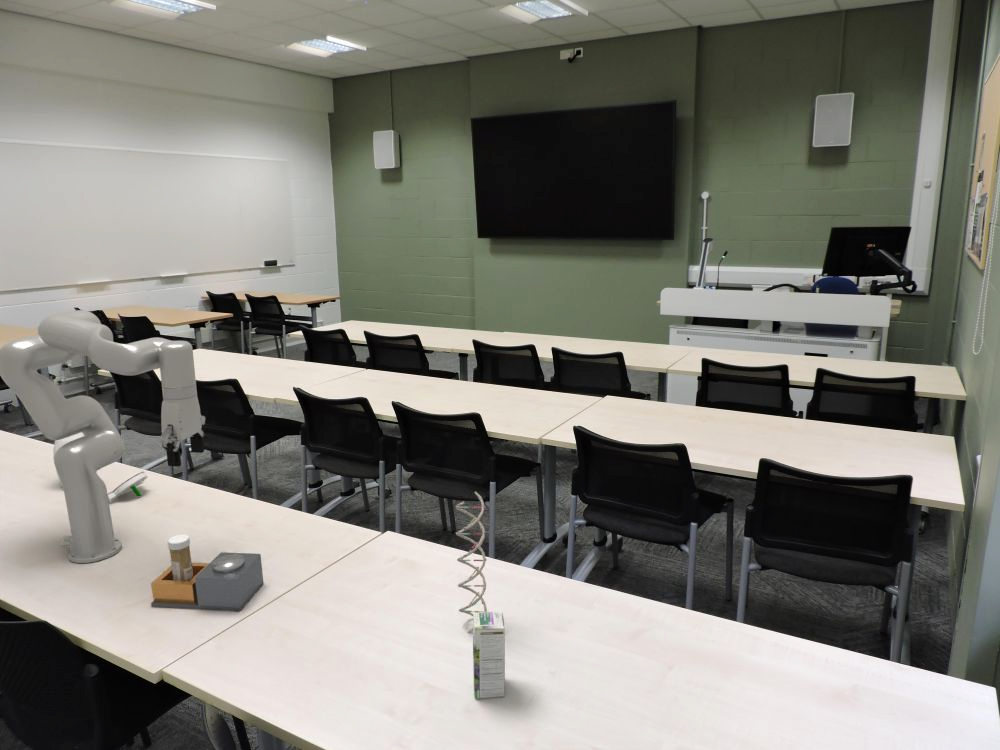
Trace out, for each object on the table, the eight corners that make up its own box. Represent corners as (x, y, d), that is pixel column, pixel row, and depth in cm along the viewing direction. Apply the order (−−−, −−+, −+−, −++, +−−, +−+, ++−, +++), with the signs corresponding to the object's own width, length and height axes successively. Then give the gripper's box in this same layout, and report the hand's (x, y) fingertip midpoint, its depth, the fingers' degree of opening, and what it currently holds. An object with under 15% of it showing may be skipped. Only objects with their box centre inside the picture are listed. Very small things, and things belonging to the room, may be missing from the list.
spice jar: (197, 591, 165) (190, 539, 162) (176, 597, 162) (169, 544, 159) (193, 583, 168) (187, 532, 165) (172, 588, 166) (166, 537, 163)
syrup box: (473, 679, 134) (471, 611, 130) (503, 677, 134) (502, 610, 131) (474, 699, 128) (472, 629, 125) (506, 697, 129) (505, 627, 125)
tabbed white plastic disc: (134, 484, 232) (145, 458, 229) (153, 497, 232) (164, 471, 228) (98, 502, 218) (109, 474, 214) (118, 516, 217) (130, 489, 214)
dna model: (481, 636, 147) (478, 504, 140) (453, 631, 149) (449, 500, 142) (492, 619, 153) (490, 492, 146) (465, 614, 155) (462, 488, 148)
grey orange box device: (151, 607, 160) (146, 571, 158) (186, 574, 175) (182, 541, 173) (240, 611, 158) (236, 575, 156) (268, 577, 173) (265, 544, 170)
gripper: (186, 382, 177) (192, 446, 182) (142, 400, 161) (150, 470, 165) (213, 384, 176) (219, 448, 180) (172, 402, 160) (179, 472, 164)
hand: (186, 458), depth 173 cm, fingers open, 9 cm apart
